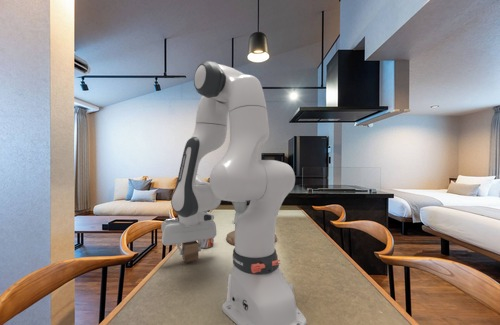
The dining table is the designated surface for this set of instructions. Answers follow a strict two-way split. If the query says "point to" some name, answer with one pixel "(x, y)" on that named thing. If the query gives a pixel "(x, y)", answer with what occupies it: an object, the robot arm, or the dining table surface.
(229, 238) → the trivet
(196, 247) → the walnut block
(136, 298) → the dining table surface
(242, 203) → the coffee maker
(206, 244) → the soda can
